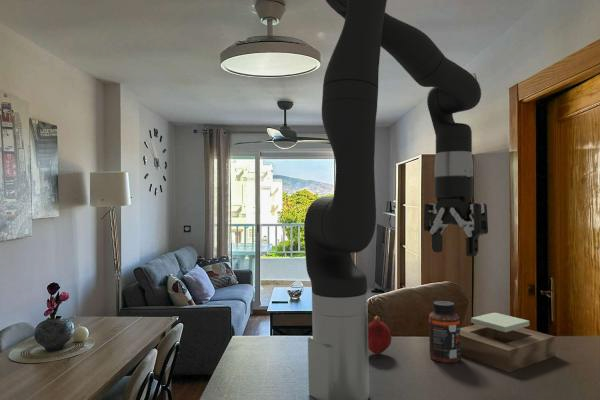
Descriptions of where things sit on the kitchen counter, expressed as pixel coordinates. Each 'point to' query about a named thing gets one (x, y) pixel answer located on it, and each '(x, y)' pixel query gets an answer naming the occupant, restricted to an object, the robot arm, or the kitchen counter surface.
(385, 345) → the pomegranate
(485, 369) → the kitchen counter surface
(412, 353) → the kitchen counter surface
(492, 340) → the wooden tray
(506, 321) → the plate
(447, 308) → the supplement bottle
